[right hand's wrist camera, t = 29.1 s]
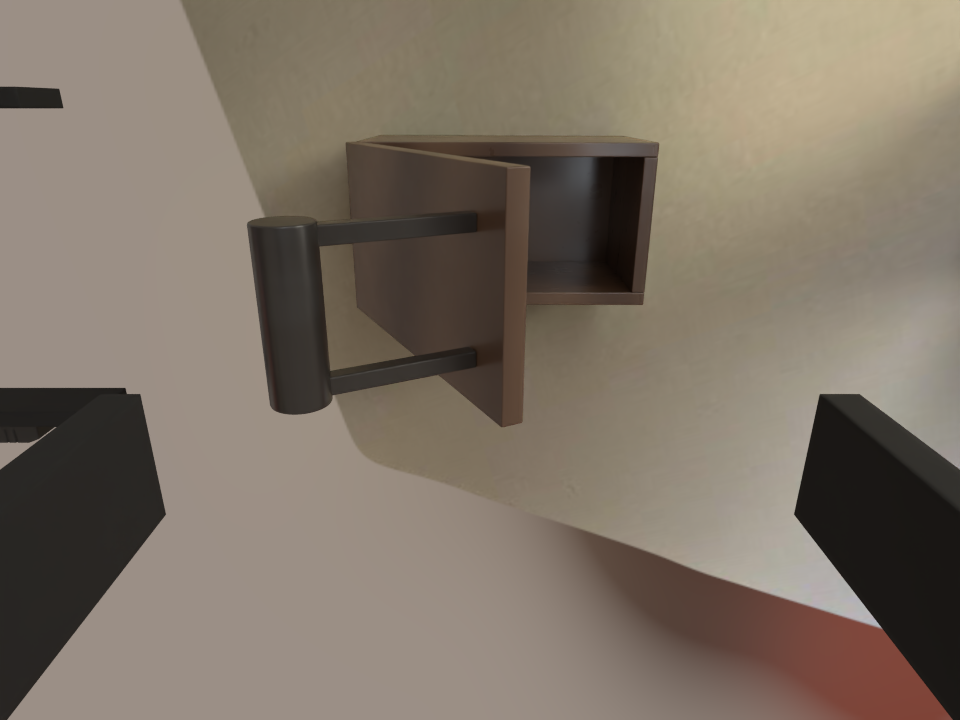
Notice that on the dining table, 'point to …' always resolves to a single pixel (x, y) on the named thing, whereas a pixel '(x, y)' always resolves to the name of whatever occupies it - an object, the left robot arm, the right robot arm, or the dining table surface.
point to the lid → (405, 280)
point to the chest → (573, 209)
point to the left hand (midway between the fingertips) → (80, 266)
